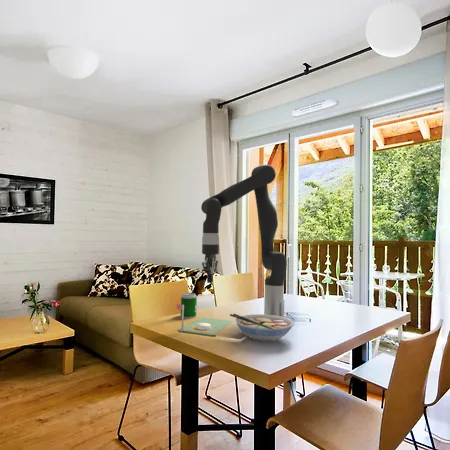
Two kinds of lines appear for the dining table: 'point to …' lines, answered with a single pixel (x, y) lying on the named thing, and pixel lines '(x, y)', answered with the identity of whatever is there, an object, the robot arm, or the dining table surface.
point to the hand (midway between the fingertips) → (209, 282)
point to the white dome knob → (203, 326)
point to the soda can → (189, 305)
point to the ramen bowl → (263, 326)
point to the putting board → (215, 323)
